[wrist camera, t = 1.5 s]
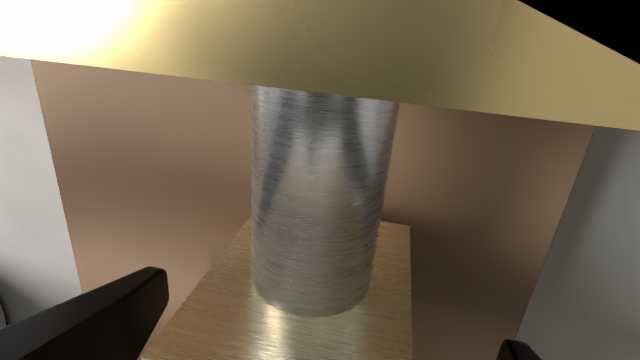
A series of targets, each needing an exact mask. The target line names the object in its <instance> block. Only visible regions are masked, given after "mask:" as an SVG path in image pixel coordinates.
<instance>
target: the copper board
mask: <svg viewBox="0 0 640 360" xmlns="http://www.w3.org/2000/svg"><path fill="white" fill-rule="evenodd" d="M518 1H520V2H522V3H524V4H526V5H528V6H530V7H531V8H533V9H535V10H537V11H539V12H541V13H543V14H545V15H547V16H549V17H551V18H552V19H554V20H556V21H558V22H560V23H562V24H564V25H566V26H568V27H570V28H572V29H573V30H575V31H577V32H579V33H581V34H583V35H585V36H587V37H589V38H591V39H593V40H594V41H596V42H598V43H600V44H602V45H604V46H606V47H608V48H610V49H612V50H613V51H615V52H617V53H619V54H621V55H623V53H624V51H625V48H626V45H627V43H628V40H629V37H630V35H631V32H632V30H633V27H634V24H635V22H636V19H637V16H638V14H639V11H640V0H612V1H611V0H518ZM30 60H31V65H32V69H33V74H34V78H35V82H36V87H37V91H38V96H39V100H40V105H41V109H42V114H43V118H44V123H45V127H46V132H47V136H48V141H49V145H50V150H51V154H52V159H53V163H54V168H55V172H56V177H57V181H58V186H59V190H60V195H61V199H62V204H63V208H64V213H65V217H66V222H67V226H68V231H69V235H70V239H71V244H72V248H73V253H74V257H75V262H76V266H77V271H78V275H79V280H80V284H81V289H82V293H83V294H84V293H86V292H88V291H91V290H93V289H96V288H98V287H100V286H103V285H105V284H107V283H110V282H112V281H114V280H117V279H119V278H121V277H124V276H126V275H128V274H131V273H133V272H135V271H138V270H140V269H143V268H145V267H148V266H153V267H158V268H162V269H164V270H166V272H167V278H168V287H169V302H168V305H167V307H166V309H165V310H164V312H163V314H162V316H161V318H160V320H159V321H158V323H157V325H156V327H155V329H154V330H153V332H152V334H151V336H150V338H149V339H148V341H147V343H146V345H145V347H144V349H143V350H142V352H141V354H140V356H139V357H138V359H137V360H141V356H142V355H143V353H144V352H145V351H146V350H147V348H148V347H149V346H150V344H151V343H152V342H153V341H154V339H155V338H156V337H157V335H158V334H159V333H160V332H161V330H162V329H163V328H164V326H165V325H166V324H167V323H168V321H169V320H170V319H171V317H172V316H173V315H174V314H175V312H176V311H177V310H178V308H179V307H180V306H181V305H182V303H183V302H184V301H185V299H186V298H187V297H188V296H189V294H190V293H191V292H192V290H193V289H194V288H195V287H196V285H197V284H198V283H199V281H200V280H201V279H202V278H203V276H204V275H205V274H206V272H207V271H208V270H209V269H210V267H211V266H212V265H213V263H214V262H215V261H216V260H217V258H218V257H219V256H220V254H221V253H222V252H223V251H224V249H225V248H226V247H227V246H228V244H229V243H230V242H231V240H232V239H233V238H234V237H235V235H236V234H237V233H238V231H239V230H240V229H241V228H242V226H243V225H244V224H245V222H246V221H247V220H248V219H249V217H250V216H251V215H252V85H247V84H238V83H230V82H221V81H213V80H205V79H196V78H188V77H179V76H171V75H162V74H154V73H145V72H137V71H128V70H120V69H111V68H103V67H94V66H86V65H77V64H69V63H60V62H52V61H43V60H35V59H30ZM595 127H596V126H595V125H586V124H578V123H569V122H561V121H552V120H544V119H535V118H527V117H518V116H510V115H501V114H493V113H484V112H476V111H468V110H459V109H451V108H442V107H434V106H425V105H417V104H408V103H400V104H399V110H398V117H397V123H396V129H395V135H394V141H393V148H392V154H391V160H390V166H389V172H388V178H387V185H386V191H385V197H384V203H383V209H382V216H381V221H384V222H390V223H396V224H402V225H408V226H410V264H411V314H412V360H496V358H497V355H498V352H499V349H500V347H501V344H502V342H503V341H504V340H505V339H510V340H514V339H515V337H516V334H517V332H518V329H519V326H520V324H521V321H522V318H523V316H524V313H525V311H526V308H527V305H528V303H529V300H530V297H531V295H532V292H533V289H534V287H535V284H536V282H537V279H538V276H539V274H540V271H541V268H542V266H543V263H544V261H545V258H546V255H547V253H548V250H549V247H550V245H551V242H552V240H553V237H554V234H555V232H556V229H557V226H558V224H559V221H560V219H561V216H562V213H563V211H564V208H565V205H566V203H567V200H568V198H569V195H570V192H571V190H572V187H573V184H574V182H575V179H576V177H577V174H578V171H579V169H580V166H581V163H582V161H583V158H584V156H585V153H586V150H587V148H588V145H589V142H590V140H591V137H592V135H593V132H594V129H595Z"/></svg>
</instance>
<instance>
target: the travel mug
mask: <svg viewBox="0 0 640 360" xmlns="http://www.w3.org/2000/svg"><path fill="white" fill-rule="evenodd" d="M4 327H6V320H5V315H4V311H3V308H2V306H1V303H0V329H1V328H4Z"/></svg>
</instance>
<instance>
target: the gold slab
mask: <svg viewBox="0 0 640 360" xmlns="http://www.w3.org/2000/svg"><path fill="white" fill-rule="evenodd" d="M611 1H612V0H611ZM0 55H1V56H9V57H18V58H26V59H35V60H43V61H52V62H60V63H69V64H77V65H86V66H94V67H103V68H111V69H120V70H128V71H137V72H145V73H154V74H162V75H171V76H179V77H188V78H196V79H205V80H213V81H221V82H230V83H238V84H247V85H255V86H264V87H272V88H281V89H289V90H298V91H306V92H315V93H323V94H332V95H340V96H349V97H357V98H366V99H374V100H383V101H391V102H400V103H408V104H417V105H425V106H434V107H442V108H451V109H459V110H468V111H476V112H484V113H493V114H501V115H510V116H518V117H527V118H535V119H544V120H552V121H561V122H569V123H578V124H586V125H595V126H603V127H612V128H620V129H629V130H637V131H640V11H639V14H638V16H637V19H636V22H635V24H634V27H633V30H632V32H631V35H630V37H629V40H628V43H627V45H626V48H625V51H624V53H623V55H621V54H619V53H617V52H615V51H613V50H612V49H610V48H608V47H606V46H604V45H602V44H600V43H598V42H596V41H594V40H593V39H591V38H589V37H587V36H585V35H583V34H581V33H579V32H577V31H575V30H573V29H572V28H570V27H568V26H566V25H564V24H562V23H560V22H558V21H556V20H554V19H552V18H551V17H549V16H547V15H545V14H543V13H541V12H539V11H537V10H535V9H533V8H531V7H530V6H528V5H526V4H524V3H522V2H520V1H518V0H0Z"/></svg>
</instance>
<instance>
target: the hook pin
mask: <svg viewBox="0 0 640 360" xmlns="http://www.w3.org/2000/svg"><path fill="white" fill-rule="evenodd" d="M399 104H400V102H391V101H383V100H374V99H366V98H357V97H349V96H340V95H332V94H323V93H315V92H306V91H298V90H289V89H281V88H272V87H264V86H255V85H252V215H251V216H250V217H249V219H248V220H247V221H246V222H245V224H244V225H243V226H242V228H241V229H240V230H239V231H238V233H237V234H236V235H235V237H234V238H233V239H232V240H231V242H230V243H229V244H228V246H227V247H226V248H225V249H224V251H223V252H222V253H221V254H220V256H219V257H218V258H217V260H216V261H215V262H214V263H213V265H212V266H211V267H210V269H209V270H208V271H207V272H206V274H205V275H204V276H203V278H202V279H201V280H200V281H199V283H198V284H197V285H196V287H195V288H194V289H193V290H192V292H191V293H190V294H189V296H188V297H187V298H186V299H185V301H184V302H183V303H182V305H181V306H180V307H179V308H178V310H177V311H176V312H175V314H174V315H173V316H172V317H171V319H170V320H169V321H168V323H167V324H166V325H165V326H164V328H163V329H162V330H161V332H160V333H159V334H158V335H157V337H156V338H155V339H154V341H153V342H152V343H151V344H150V346H149V347H148V348H147V350H146V351H145V352H144V353H143V355H142V356H141V360H412V314H411V264H410V226H408V225H402V224H396V223H390V222H384V221H381V216H382V209H383V203H384V197H385V191H386V185H387V178H388V172H389V166H390V160H391V154H392V148H393V141H394V135H395V129H396V123H397V117H398V110H399Z"/></svg>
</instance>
